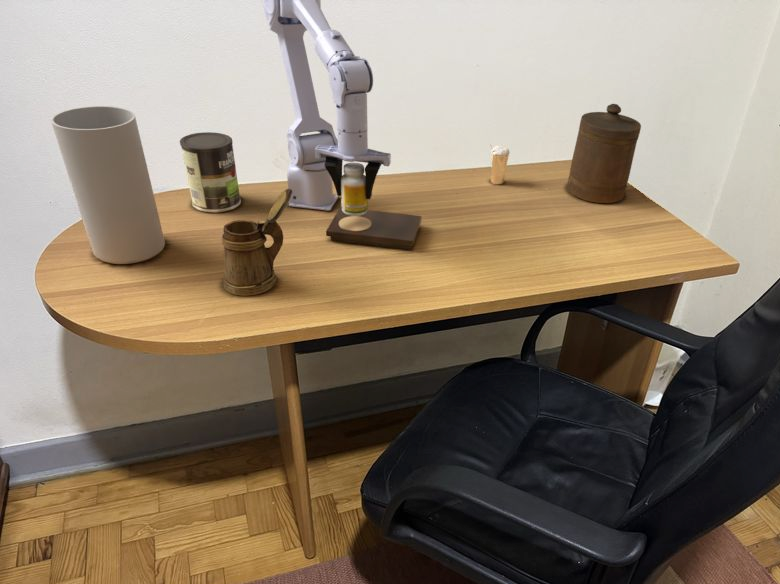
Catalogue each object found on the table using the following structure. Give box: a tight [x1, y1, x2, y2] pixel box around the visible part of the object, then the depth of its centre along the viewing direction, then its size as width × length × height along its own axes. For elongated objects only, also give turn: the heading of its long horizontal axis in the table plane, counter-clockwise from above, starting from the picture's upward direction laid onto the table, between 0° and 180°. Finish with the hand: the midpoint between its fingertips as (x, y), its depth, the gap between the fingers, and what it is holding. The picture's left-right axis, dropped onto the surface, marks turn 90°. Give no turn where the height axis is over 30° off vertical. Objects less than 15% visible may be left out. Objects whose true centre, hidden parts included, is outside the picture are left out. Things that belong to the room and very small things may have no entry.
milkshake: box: [489, 144, 510, 185], centre depth 159 cm, size 5×5×10 cm
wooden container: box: [566, 103, 642, 204], centre depth 155 cm, size 15×15×22 cm
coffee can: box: [179, 131, 242, 213], centre depth 135 cm, size 10×10×14 cm
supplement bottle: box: [340, 162, 369, 216], centre depth 126 cm, size 5×5×10 cm
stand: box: [325, 206, 423, 251], centre depth 133 cm, size 18×12×3 cm, turn 85°
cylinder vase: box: [50, 105, 166, 265], centre depth 112 cm, size 12×12×25 cm
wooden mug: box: [221, 188, 293, 297], centre depth 109 cm, size 9×14×18 cm, turn 103°
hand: (354, 195), depth 127 cm, fingers closed on supplement bottle, 5 cm apart
